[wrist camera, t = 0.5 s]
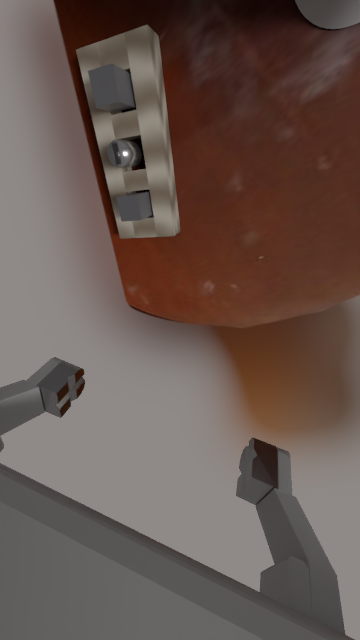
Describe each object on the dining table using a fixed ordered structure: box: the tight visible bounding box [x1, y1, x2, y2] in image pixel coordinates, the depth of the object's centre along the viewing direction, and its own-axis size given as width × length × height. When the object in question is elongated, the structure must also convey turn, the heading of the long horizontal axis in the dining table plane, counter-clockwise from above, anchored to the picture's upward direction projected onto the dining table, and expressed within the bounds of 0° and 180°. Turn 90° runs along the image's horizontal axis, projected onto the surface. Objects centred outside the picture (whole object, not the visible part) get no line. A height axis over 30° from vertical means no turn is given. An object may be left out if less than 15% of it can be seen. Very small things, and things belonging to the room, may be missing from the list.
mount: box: [76, 25, 180, 239], centre depth 44 cm, size 28×12×4 cm, turn 7°
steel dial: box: [108, 140, 142, 167], centre depth 41 cm, size 4×4×6 cm
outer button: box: [116, 192, 153, 222], centre depth 45 cm, size 4×4×5 cm
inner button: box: [88, 63, 135, 112], centre depth 37 cm, size 4×4×5 cm
